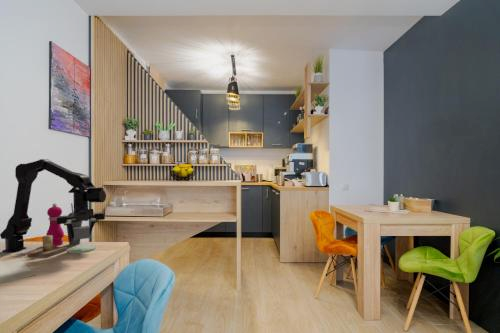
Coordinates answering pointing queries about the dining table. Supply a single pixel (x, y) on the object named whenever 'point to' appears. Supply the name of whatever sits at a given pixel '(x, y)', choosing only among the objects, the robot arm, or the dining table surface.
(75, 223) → the beverage cup
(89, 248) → the mat
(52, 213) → the pepper mill
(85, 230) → the gray square block
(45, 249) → the post block
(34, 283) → the dining table surface
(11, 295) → the dining table surface
